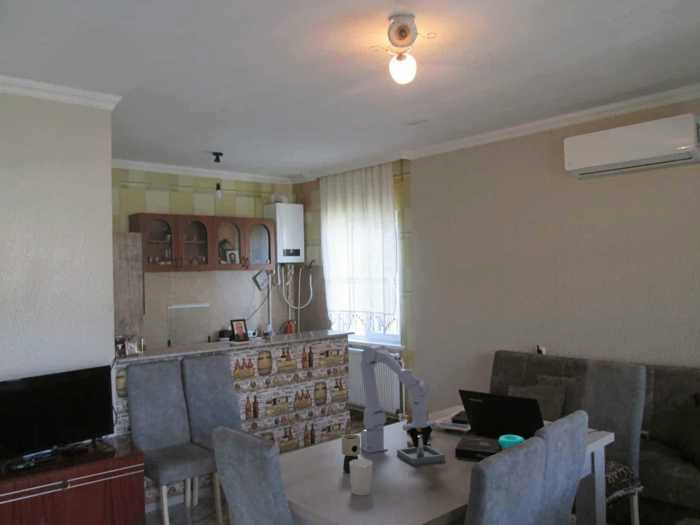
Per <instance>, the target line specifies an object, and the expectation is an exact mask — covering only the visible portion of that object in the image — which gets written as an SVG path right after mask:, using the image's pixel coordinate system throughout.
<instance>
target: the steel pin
mask: <svg viewBox="0 0 700 525" xmlns="http://www.w3.org/2000/svg"><path fill="white" fill-rule="evenodd" d="M416 454H417V457H424V447H423V436H422V435H420V434H418V447H417V448H416Z"/></svg>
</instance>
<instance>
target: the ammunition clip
mask: <svg viewBox="0 0 700 525" xmlns="http://www.w3.org/2000/svg"><path fill="white" fill-rule="evenodd" d="M406 416H407V417H406V424H409V423H412V422H413V409H412V407H411V408H410V407H409V406H408V407H407V415H406ZM427 421H429V413H428V411H427ZM416 430H417V431H418V432H419V434H418V435H420V434H422V430H421V428H418V429H416ZM406 433H407V434H409V432H408V430H407V431H406Z"/></svg>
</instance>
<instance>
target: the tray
mask: <svg viewBox="0 0 700 525" xmlns="http://www.w3.org/2000/svg"><path fill="white" fill-rule="evenodd" d="M423 447H424V457H417V454H416V447H411V448H410V447H406V448H399V449H397V450H396V457H398V458H400V459H401V460H403V461H405V462H407V463H408V464H410V465H411V466H414V467H419V466H423V465H428V464H429V465H431V464H435V463H440V462H441V461H442V462H445V461H446V455H445V454H444V453H442V452H441V451H439V450H437V449H435V448H433V447H432V446H431V447H429V446H425V445H423Z"/></svg>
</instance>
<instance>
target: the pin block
mask: <svg viewBox="0 0 700 525" xmlns="http://www.w3.org/2000/svg"><path fill="white" fill-rule="evenodd" d="M406 445H407V448H411V447H414V446H413V441H412V440H407V441H406ZM427 446H429V447H431V448H432V443H431V442H429V441H428V443H427Z"/></svg>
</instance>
